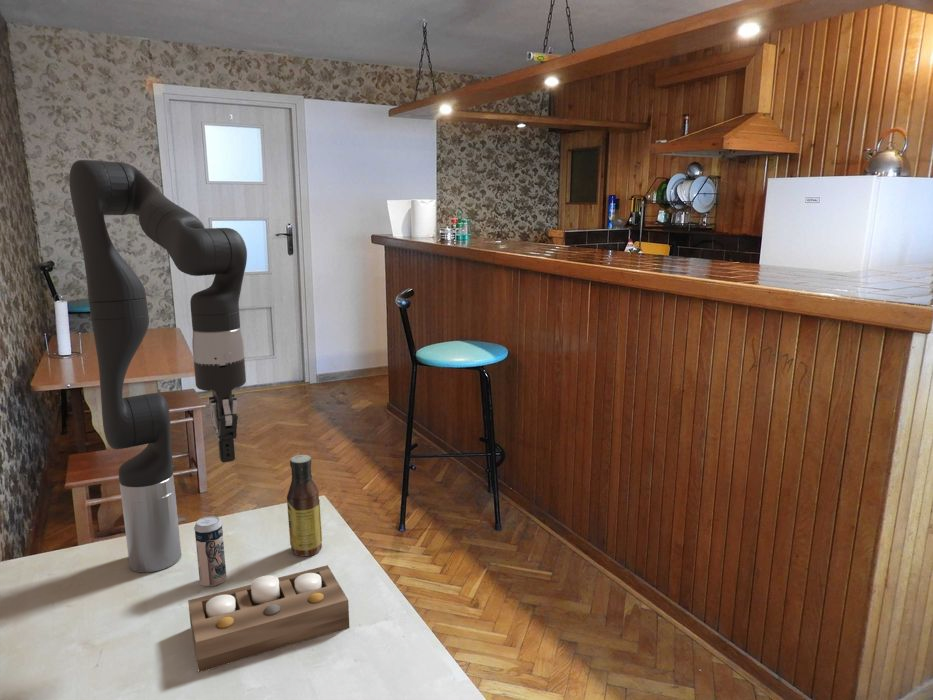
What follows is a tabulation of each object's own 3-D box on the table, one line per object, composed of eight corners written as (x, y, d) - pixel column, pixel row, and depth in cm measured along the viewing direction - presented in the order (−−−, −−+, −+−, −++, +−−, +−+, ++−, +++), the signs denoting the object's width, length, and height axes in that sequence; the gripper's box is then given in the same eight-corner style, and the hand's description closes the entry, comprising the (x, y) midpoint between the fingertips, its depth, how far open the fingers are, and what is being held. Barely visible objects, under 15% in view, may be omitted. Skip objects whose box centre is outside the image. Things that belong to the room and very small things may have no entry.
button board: (190, 627, 107) (188, 598, 106) (328, 590, 117) (327, 563, 116) (198, 672, 97) (195, 640, 95) (349, 627, 107) (348, 598, 106)
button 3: (292, 592, 112) (291, 576, 112) (318, 586, 114) (317, 570, 114) (299, 606, 108) (298, 589, 108) (325, 598, 110) (324, 582, 110)
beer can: (217, 589, 118) (212, 528, 115) (193, 586, 119) (187, 525, 116) (232, 575, 122) (227, 516, 120) (209, 572, 123) (203, 513, 121)
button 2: (250, 596, 109) (248, 579, 108) (276, 589, 111) (275, 573, 110) (254, 609, 105) (253, 593, 104) (282, 602, 107) (281, 585, 106)
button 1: (205, 615, 106) (204, 599, 105) (234, 608, 108) (232, 591, 107) (209, 630, 102) (207, 613, 101) (238, 622, 104) (237, 605, 103)
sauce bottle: (298, 541, 135) (292, 450, 131) (327, 543, 134) (322, 451, 130) (285, 558, 129) (278, 462, 124) (315, 560, 128) (310, 464, 124)
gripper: (189, 351, 107) (198, 451, 111) (197, 368, 96) (207, 479, 99) (237, 346, 111) (244, 444, 114) (251, 362, 99) (258, 470, 103)
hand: (227, 460), depth 107 cm, fingers closed
